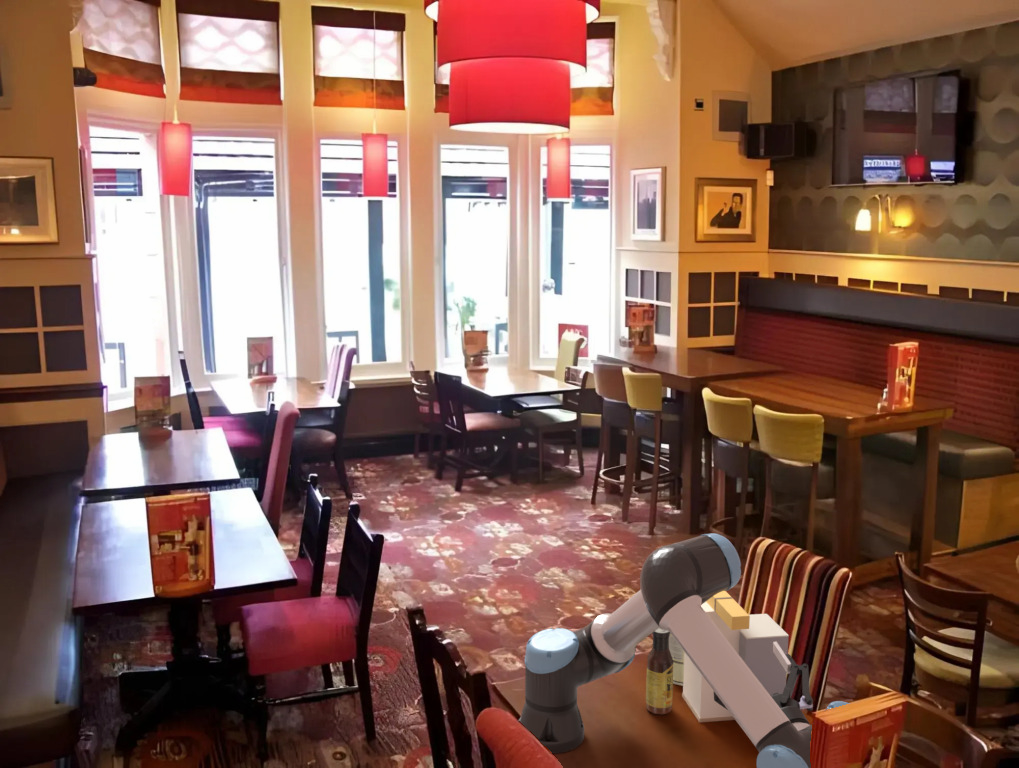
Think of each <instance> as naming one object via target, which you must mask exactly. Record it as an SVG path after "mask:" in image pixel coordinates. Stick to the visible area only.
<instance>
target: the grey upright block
mask: <svg viewBox="0 0 1019 768" xmlns="http://www.w3.org/2000/svg"><path fill="white" fill-rule="evenodd" d="M748 615H749V616H750V622H749V629H741V630H740V639H739V656H740V657H741V658H742V660H743V661H744V662H745V664H746V665H747V666H748V667H749V669H750V670H751V671H752V673H753V674H754V675H755V676H756V678H757V679H758V680H759V682H760V683H761V684H762V685H763V687H764V688H765V689H766V691H767V692H768V693H769V694H770V695H773V694H774V693H779V694H783V691H784V688H785V686H786V683H787V672H786V671H785V669H784V668H783V666H782V665H781V663H780V662H779V660H778V658H777V657H776V655H775V654H774V652H773V642H777V643H778V645H779V646H780V648H781V649H782V651H783V652H784V654H785V655H786V654H789V637H790V635H789V634H788V632H786V631H785V630H784V629H783V628H782V627H781V626H780V625H779V624H778V623H777V622H776V621H775V620H774V619H773V618H772V617H771V616H770V615H769V614H768V613H755V614H748Z"/></svg>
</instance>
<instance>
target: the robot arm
mask: <svg viewBox="0 0 1019 768" xmlns="http://www.w3.org/2000/svg"><path fill="white" fill-rule="evenodd" d="M741 566H742V562H741V559H740V556H739V553H738V551H737V549H736V547H735V546H734V545H733V544H732V542H731V541H730V540H729V539H728V538H726V537H725V536H723V535H721V534H719V533H716V532H715V533H704V534H703V533H702V534H701V535H698V536H695V537H692V538H689V539H686V540H685V539H684V540H682V541H678V542H674V543H672V544H665V545H663V546H660V547H658V548H656V549H655V550H653V551H652V552H651V553H650V554H649V555H648V556H647V558H646V559H645V560H644V563H643V565H642V566H641V571H640V575H639V585H640V587H639V588H640V590H638V591H637V592H636V593H634V594H633V595H632V596H631V597H630V598H629V599H628V600H626V601H625V602H623V603H622V605H621V606H619V607H618V608H617V609H616V610H614V611H613V612H612V613H608V612H607V613H606V612H605V613H602V614H600V615H597V617H596V618H594V619H593V620H592V621H590V623H588V624H587V625H586V626H584V627H582V628H579V629H577V630H574V631H572V630H570V629H567V628H564V627H563V628H562V627H556V628H552V627H551V628H547V629H546V628H545V629H542V630H540V631H537V632H536V633H534V634H533V635H532V636H531V637H530V638H529V639H528V641H527V642H526V646H525V656H524V665H525V667H524V668H525V673H524V674H525V678H524V679H525V682H524V683H525V686H524V687H525V689H524V690H525V691H524V693H525V695H524V699H525V701H524V704H523V707H522V710H521V715H520V717H519V719H518V721H520V722H521V723H522V724H523V725H524V726H525V727H526V728H527V729H528V730H529V731H531V732H532V733H533V734H534V735H535V736H536V737H537V738H538V739H539V741H540V742H541V743H542V744H543V745H544V746H546V747H547V748H548V749H549V750H550V751H551V752H552V753H551V754H561V753H566V752H569V751H573V750H574V749H576V748H578V747H579V746H580V745H581V744H582V743H583V742H584V739H585V724H584V722H583V717H582V715H581V712H580V709H579V706H578V687H580V686H584V685H586V684H588V683H591V682H594V681H596V680H600V679H602V678H604V677H607V676H610V675H613V674H617V673H619V672H621V671H623V670H624V669H626V668H627V667H628V666H630V664H632V662H633V661H634V659H635V655H636V654H635V653H636V649H637V645H639V644H640V643H641V642H643V641H644V640H645V639H646V638H648V637H649V636H650V635H652V633H653V632H654V631H655V630H657V629H658V628H660V629H661V630H666V631H669V632H670V633H671V635H672V636H673V637H674V639H675V640H676V641H677V643H678V644H679V645H680V647H681V648H682V649H683V651H684V652H685V653H686V655H687V656H688V657H689V659H690V660H691V661H692V663H693V664H694V665H695V667H696V668H697V669H698V671H699V672H700V673H701V675H702V676H703V677H704V679H705V680H706V681H707V683H708V684H709V685H710V687H711V688H712V689H713V691H714V701H715V702H717V703H718V704H720V705H721V706H723V707H724V708H725V709H727V710H728V711H729V712H730V713H731V715H732V716H733V717H734V719H735V720H734V721H736V723H737V724H738V725H739V727H740V728H741V729H742V731H743V732H744V733H745V734H746V736H747V737H748V738H749V740H750V741H751V743H752V744H753V745H754V747H755V749H757V751H758V754H757V757H756V768H811V763H810V741H811V731H812V724H810V722H809V720H808V719H807V718H806V716H805V714H804V713H803V711H802V710H805V709H806V710H807V711H808V712H812V711H813V709H814V708H813V707H814V704H813V703H814V700H813V698H812V696H811V694H810V679H809V678H810V677H809V676H810V675H809V673H810V671H809V665H808V664H807V663H802V664H801V665H800V664H798V663H796V662H795V660H794V659H793V657H792V656H791V654H789V653H788V654H786V655H785V654H784V652H783V651H782V649H781V648H780V646H779V645H778V643H777V642H773V652H774V654H775V655H776V657H777V658H778V660H779V662H780V663H781V665H782V666H783V668H784V669H785V671H786V672H787V673H786V675H788V678H787V679H786V686H785V688H784V691H783V694H779V693H774V694H773V695H770V694H769V693H768V692H767V691H766V689H765V688H764V687H763V685H762V684H761V683H760V682H759V680H758V679H757V678H756V676H755V675H754V674H753V673H752V671H751V670H750V669H749V667H748V666H747V665H746V664H745V662H744V661H743V660H742V658H741V657H740V656H739V655H738V653H737V652H736V651H735V649H734V648H733V647H732V646H731V644H730V643H729V642H728V640H727V639H726V638H725V637H724V635H723V634H722V633H721V631H720V630H719V629H718V628H717V626H716V625H715V624H714V622H713V621H712V620H711V619H710V617H709V616H708V615H707V613H706V612H705V611H704V610H703V608H702V607H701V605H702V604H703V603H705V602H706V601H707V600H709V599H710V598H711V597H713V596H714V595H716V594H717V593H719V592H722V591H726V592H727V591H729V590H731V589H732V588H733V587H735V586H736V585H737V584H738V583H739V581H740V579H741V575H742V569H741ZM799 676H801V685H802V686H801V688H802V691H801V692H802V696H801V697H800V698H799V700H800V701H799V702H798V701H797V700H795V699H793V698H792V696H793V693H794V689H795V687H796V683H797V680H798V678H799ZM846 704H850V703H849V702H847V701H842V700H836V701H832V702H830V703H829V704H828V705H827V707H826V709H825V710H827V709H831V708H835V707H839V706H842V705H846Z"/></svg>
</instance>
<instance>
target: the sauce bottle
mask: <svg viewBox="0 0 1019 768" xmlns="http://www.w3.org/2000/svg"><path fill="white" fill-rule="evenodd" d="M651 635H652V647H651V648H652V649H650V651H649V652H648V654H647V661H646V662H647V664H646V680H645V682H646V683H645V688H646V689H645V703H646V704H645V706H646V709H647V711H648V712H650V713H652V714H655V715H666V714H668V713H670V712H671V711H672V709H673V708H672V707H673V706H672V705H673V697H674V696H673V693H674V692H673V691H674V690H673V689H674V684H673V664H674V662H673V659H672V656H671V653H670V650H669V636H670V632H669V631H666V630H661V629H660V628H658V629H657V630H655V631H654V632H653V633H652V634H651Z"/></svg>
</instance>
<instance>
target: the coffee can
mask: <svg viewBox="0 0 1019 768" xmlns="http://www.w3.org/2000/svg"><path fill="white" fill-rule="evenodd" d="M669 650H670V653H671V656H672V659H673V662H674V664H673V685H677V686H681V687H683V681H684V654H685V652H684V651H683V649H682V648H681V647H680V645H679V644H678V643H677V641H676V640H675V639H674V637H673V636H672V635H671V633H670V636H669Z"/></svg>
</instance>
